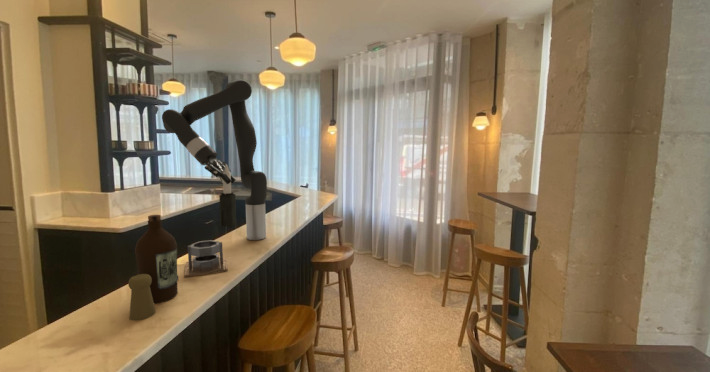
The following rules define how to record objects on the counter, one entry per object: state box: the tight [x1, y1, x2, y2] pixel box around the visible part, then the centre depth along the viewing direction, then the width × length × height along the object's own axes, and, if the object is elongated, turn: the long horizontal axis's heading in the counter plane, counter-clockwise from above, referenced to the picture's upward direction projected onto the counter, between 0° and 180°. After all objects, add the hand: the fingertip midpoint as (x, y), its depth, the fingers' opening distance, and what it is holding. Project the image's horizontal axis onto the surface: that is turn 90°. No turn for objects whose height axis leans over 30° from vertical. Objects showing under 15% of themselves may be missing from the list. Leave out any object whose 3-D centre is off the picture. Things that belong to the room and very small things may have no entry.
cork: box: [127, 274, 157, 321], centre depth 86 cm, size 6×6×11 cm
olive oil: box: [134, 214, 179, 304], centre depth 96 cm, size 11×11×25 cm
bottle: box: [218, 163, 237, 228], centre depth 131 cm, size 5×5×25 cm
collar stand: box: [183, 239, 228, 278], centre depth 120 cm, size 14×14×9 cm
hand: (231, 181), depth 130 cm, fingers closed on bottle, 3 cm apart
